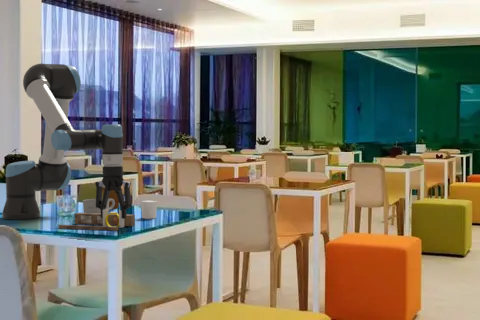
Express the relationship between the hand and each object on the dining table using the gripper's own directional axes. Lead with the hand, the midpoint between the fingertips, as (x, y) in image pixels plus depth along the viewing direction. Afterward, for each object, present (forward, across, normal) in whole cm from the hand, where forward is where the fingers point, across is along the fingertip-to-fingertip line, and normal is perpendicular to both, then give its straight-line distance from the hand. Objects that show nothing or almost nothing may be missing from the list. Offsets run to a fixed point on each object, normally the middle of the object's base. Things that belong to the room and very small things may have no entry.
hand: (113, 226), depth 268 cm
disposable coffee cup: (0, -28, +55) cm, 62 cm away
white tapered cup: (0, +2, +29) cm, 29 cm away
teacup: (0, -18, +24) cm, 30 cm away
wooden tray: (0, -7, +1) cm, 7 cm away
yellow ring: (+1, 0, 0) cm, 1 cm away
